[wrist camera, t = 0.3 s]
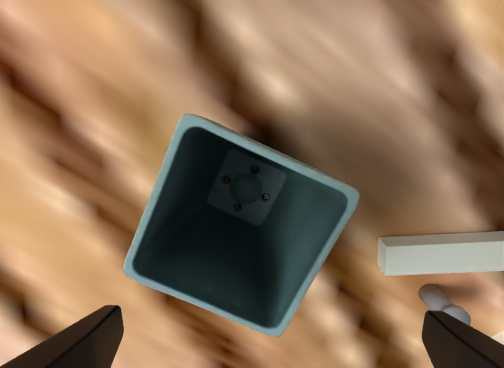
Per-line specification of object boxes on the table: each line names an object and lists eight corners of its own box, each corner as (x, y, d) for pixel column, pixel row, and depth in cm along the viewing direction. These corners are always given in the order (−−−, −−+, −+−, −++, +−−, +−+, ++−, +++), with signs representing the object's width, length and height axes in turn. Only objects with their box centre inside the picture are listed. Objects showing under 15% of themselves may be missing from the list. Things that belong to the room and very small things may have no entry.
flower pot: (214, 106, 21) (181, 108, 12) (325, 157, 22) (366, 193, 13) (172, 211, 23) (118, 276, 15) (273, 255, 24) (279, 341, 15)
